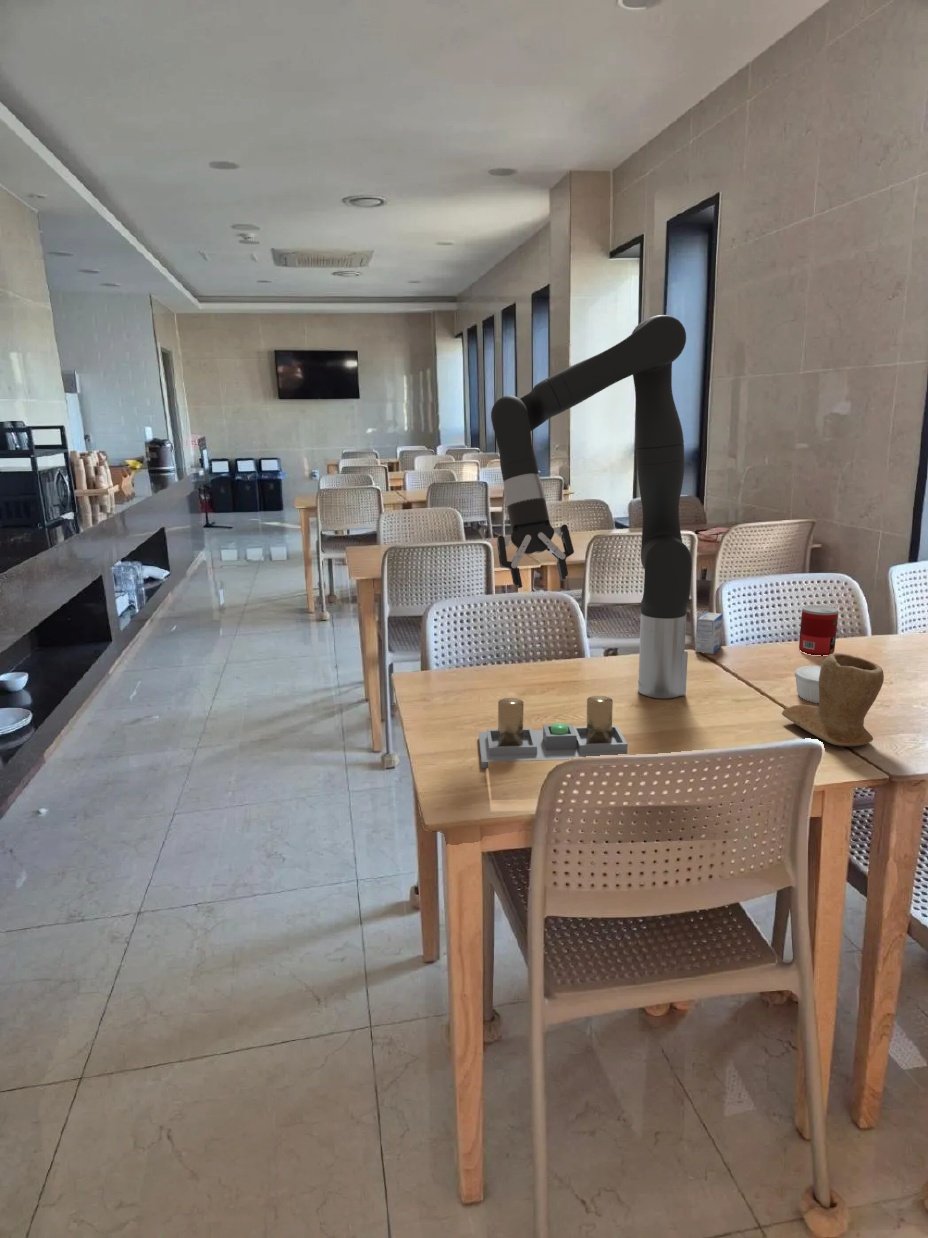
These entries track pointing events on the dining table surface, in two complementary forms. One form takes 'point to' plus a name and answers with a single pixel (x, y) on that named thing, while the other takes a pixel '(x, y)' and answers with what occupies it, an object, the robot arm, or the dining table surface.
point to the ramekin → (808, 682)
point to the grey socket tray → (548, 745)
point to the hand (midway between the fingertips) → (541, 583)
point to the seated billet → (599, 720)
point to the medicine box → (708, 633)
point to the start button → (559, 728)
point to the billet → (510, 722)
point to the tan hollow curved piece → (841, 701)
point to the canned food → (818, 630)
